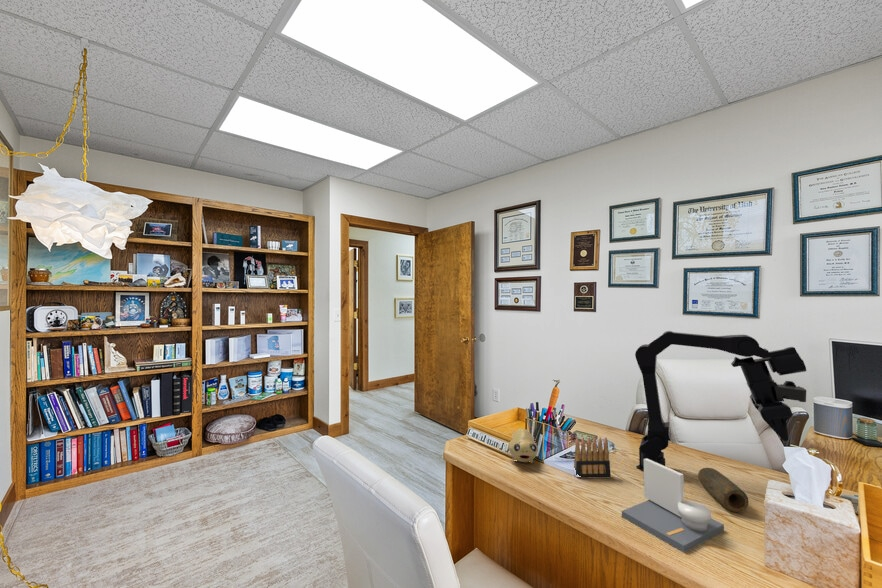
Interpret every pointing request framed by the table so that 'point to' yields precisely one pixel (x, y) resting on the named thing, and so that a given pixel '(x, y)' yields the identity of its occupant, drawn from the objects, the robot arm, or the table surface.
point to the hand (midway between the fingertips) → (782, 435)
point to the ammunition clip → (592, 459)
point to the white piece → (671, 492)
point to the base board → (671, 525)
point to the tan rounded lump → (523, 446)
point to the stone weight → (723, 490)
